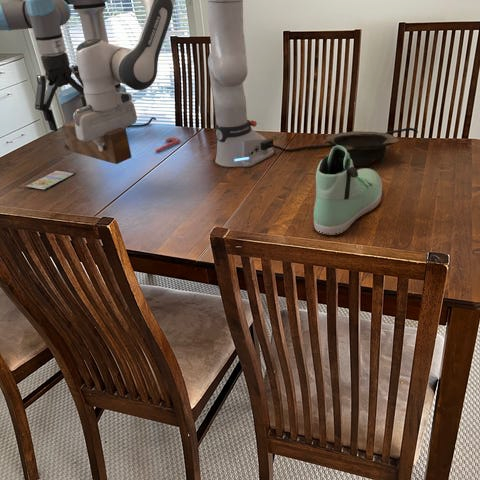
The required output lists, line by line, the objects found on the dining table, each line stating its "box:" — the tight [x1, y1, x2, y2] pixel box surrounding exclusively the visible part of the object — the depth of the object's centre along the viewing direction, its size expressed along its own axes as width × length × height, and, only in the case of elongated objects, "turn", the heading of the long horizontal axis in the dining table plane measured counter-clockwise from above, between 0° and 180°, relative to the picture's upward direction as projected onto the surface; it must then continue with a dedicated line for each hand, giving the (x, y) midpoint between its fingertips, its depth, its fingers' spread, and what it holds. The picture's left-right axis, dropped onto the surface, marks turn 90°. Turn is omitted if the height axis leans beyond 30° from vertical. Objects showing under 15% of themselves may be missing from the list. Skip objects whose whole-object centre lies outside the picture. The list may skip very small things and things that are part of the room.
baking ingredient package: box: [26, 170, 75, 190], centre depth 172 cm, size 9×1×15 cm
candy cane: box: [155, 136, 180, 153], centre depth 194 cm, size 6×15×2 cm, turn 145°
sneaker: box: [313, 146, 383, 236], centre depth 133 cm, size 14×35×20 cm, turn 152°
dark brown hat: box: [324, 130, 399, 167], centre depth 168 cm, size 25×25×9 cm
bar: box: [62, 120, 132, 165], centre depth 149 cm, size 23×6×9 cm, turn 53°
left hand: (72, 123), depth 153 cm, fingers open, 13 cm apart
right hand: (112, 146), depth 145 cm, fingers closed on bar, 6 cm apart
